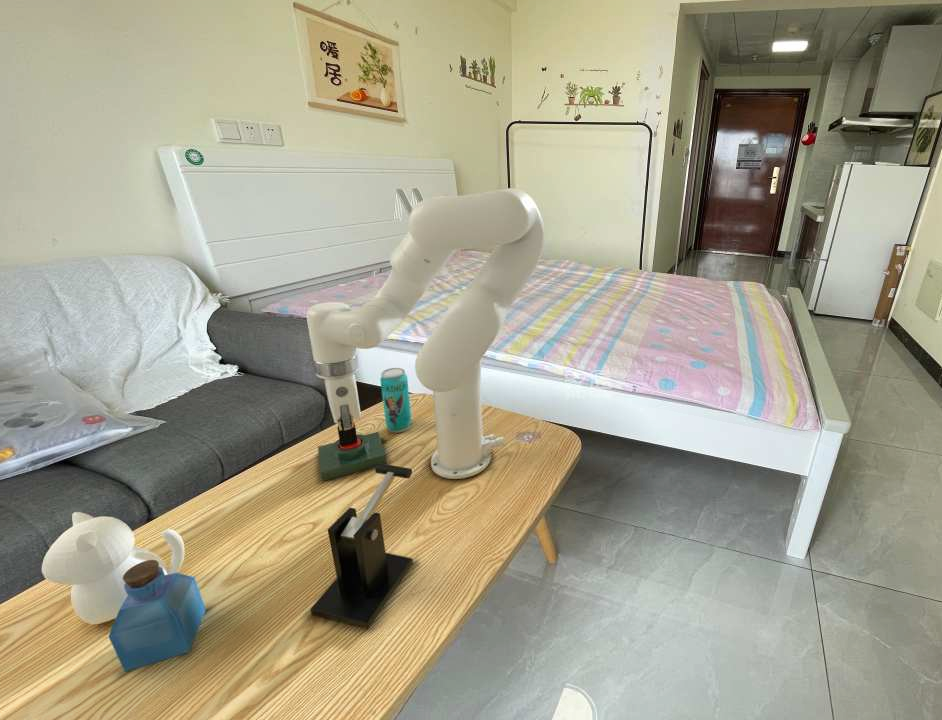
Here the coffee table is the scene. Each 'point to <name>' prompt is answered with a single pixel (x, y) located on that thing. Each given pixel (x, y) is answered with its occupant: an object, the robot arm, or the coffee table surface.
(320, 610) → the bracket
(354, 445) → the button
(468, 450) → the robot arm
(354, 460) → the control box
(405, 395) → the beverage can
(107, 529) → the cat figurine
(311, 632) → the coffee table surface
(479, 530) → the coffee table surface
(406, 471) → the lever
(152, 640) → the perfume bottle
